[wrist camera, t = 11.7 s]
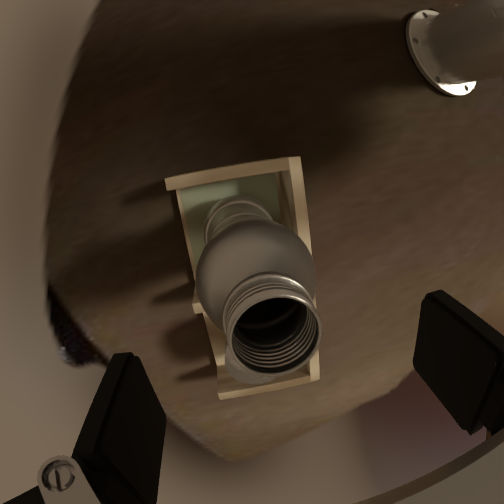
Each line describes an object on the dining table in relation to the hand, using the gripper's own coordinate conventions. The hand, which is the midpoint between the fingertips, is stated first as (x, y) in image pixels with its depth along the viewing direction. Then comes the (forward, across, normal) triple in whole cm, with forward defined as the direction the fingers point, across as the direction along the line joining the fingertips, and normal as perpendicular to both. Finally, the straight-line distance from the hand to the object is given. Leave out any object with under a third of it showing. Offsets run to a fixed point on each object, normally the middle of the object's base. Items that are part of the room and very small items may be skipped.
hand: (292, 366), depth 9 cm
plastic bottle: (+22, +1, 0) cm, 22 cm away
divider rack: (+23, 0, +6) cm, 24 cm away
